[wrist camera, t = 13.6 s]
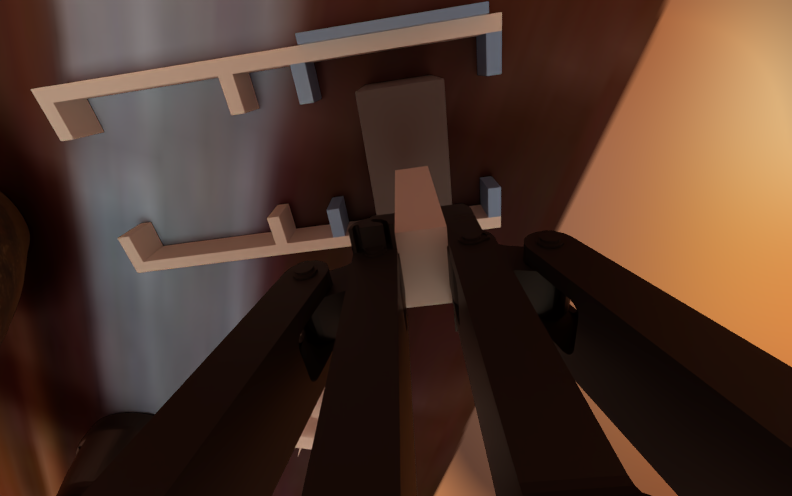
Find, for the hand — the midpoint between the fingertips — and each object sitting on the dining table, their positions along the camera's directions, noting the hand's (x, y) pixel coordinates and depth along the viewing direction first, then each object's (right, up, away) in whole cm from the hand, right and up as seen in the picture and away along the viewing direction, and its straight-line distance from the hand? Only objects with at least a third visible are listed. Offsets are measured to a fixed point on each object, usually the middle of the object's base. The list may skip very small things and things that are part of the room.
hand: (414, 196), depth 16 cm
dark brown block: (0, +6, +12) cm, 14 cm away
